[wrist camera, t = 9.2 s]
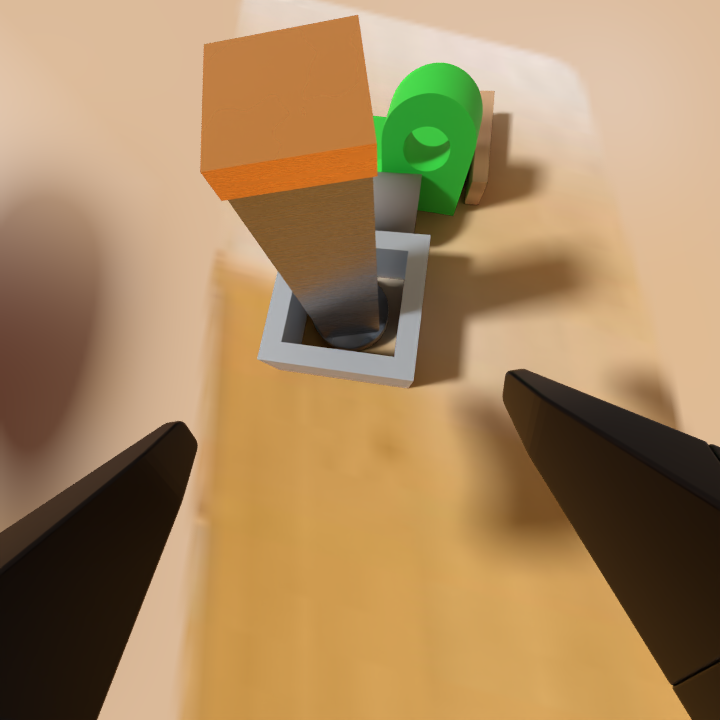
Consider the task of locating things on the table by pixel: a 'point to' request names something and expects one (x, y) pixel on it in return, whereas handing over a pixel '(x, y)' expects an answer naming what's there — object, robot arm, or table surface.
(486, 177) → the bay rails
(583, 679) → the table surface
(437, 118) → the mechanical part
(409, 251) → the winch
